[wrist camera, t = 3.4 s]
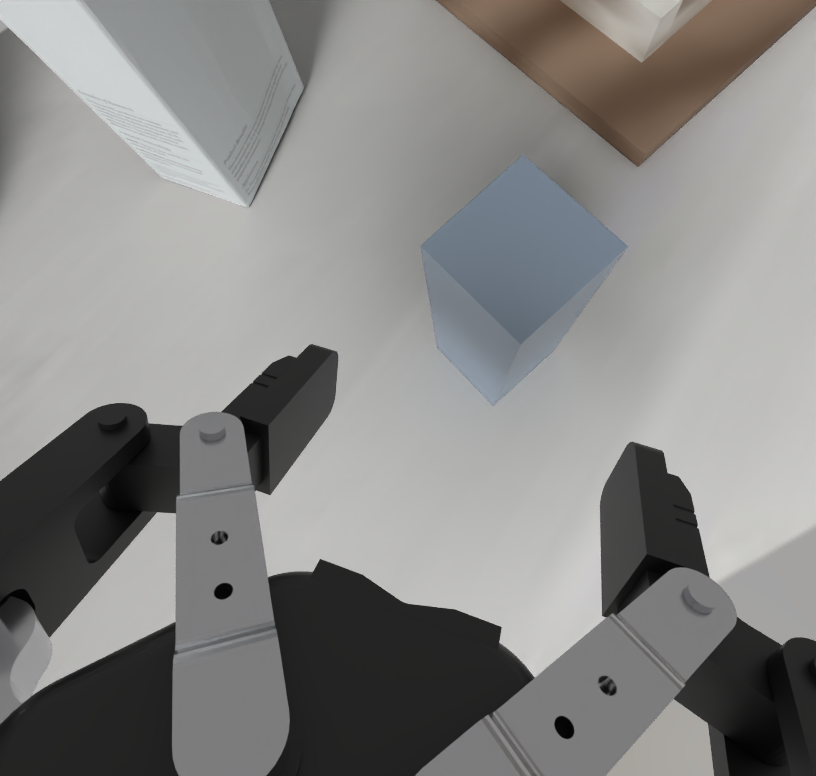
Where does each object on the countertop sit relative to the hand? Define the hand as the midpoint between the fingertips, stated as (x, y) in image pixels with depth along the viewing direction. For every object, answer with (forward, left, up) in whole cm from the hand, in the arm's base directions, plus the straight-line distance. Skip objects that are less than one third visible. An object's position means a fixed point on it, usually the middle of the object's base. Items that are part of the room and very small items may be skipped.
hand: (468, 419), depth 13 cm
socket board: (-13, +24, -11) cm, 29 cm away
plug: (-3, +4, -11) cm, 12 cm away
